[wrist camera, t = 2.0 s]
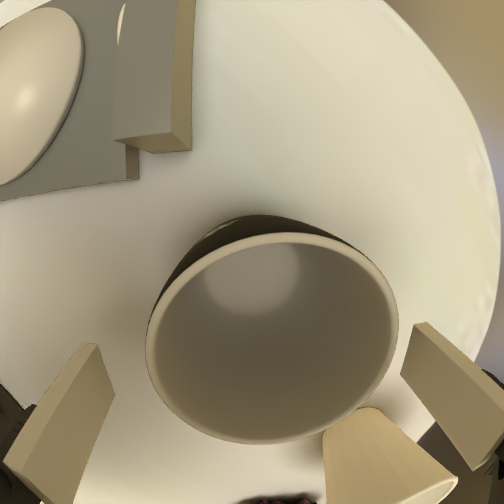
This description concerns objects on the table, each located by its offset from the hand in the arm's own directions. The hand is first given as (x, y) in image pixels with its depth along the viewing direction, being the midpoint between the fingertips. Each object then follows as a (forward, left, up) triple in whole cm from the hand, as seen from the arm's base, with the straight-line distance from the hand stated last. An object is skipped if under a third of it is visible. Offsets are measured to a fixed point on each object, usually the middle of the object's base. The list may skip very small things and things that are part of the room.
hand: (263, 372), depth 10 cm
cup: (+11, -17, -9) cm, 22 cm away
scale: (-13, +15, -9) cm, 21 cm away
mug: (0, 0, -9) cm, 9 cm away
